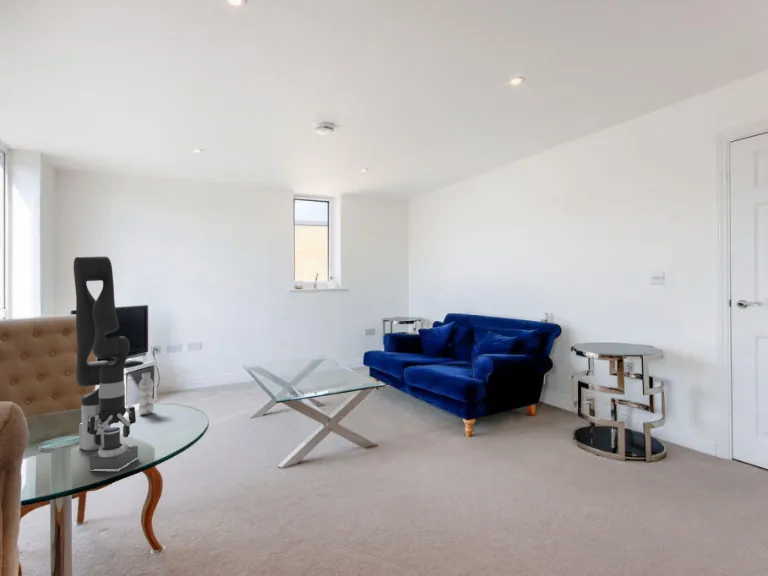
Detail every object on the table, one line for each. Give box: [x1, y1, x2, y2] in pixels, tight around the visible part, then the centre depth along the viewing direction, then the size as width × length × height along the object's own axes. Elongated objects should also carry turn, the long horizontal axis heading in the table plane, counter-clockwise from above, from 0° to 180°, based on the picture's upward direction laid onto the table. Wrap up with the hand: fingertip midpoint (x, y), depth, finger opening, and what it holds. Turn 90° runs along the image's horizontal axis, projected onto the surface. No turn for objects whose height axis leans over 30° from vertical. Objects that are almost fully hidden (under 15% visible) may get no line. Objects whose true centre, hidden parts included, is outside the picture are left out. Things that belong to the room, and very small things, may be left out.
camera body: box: [89, 441, 139, 471], centre depth 141 cm, size 10×10×7 cm
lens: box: [103, 426, 121, 450], centre depth 140 cm, size 5×5×8 cm
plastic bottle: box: [138, 371, 155, 416], centre depth 195 cm, size 6×7×20 cm
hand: (112, 440), depth 140 cm, fingers open, 8 cm apart
